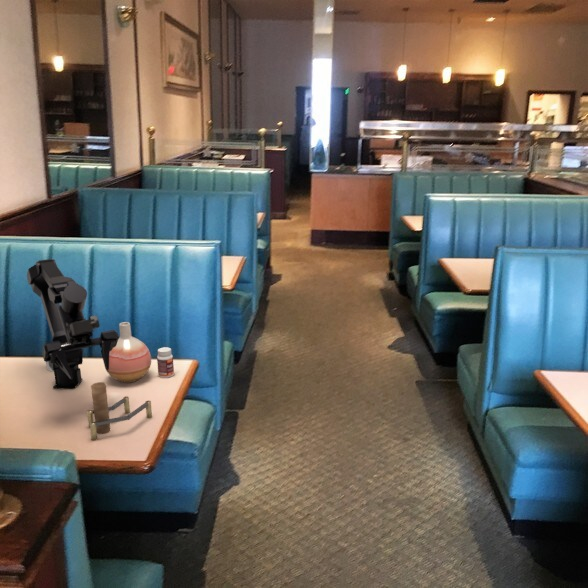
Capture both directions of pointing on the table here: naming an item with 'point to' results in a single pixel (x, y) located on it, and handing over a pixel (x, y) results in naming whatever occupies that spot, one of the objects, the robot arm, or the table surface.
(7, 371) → the table surface
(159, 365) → the pill bottle
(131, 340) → the vase
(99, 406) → the walnut peg
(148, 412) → the wire course
